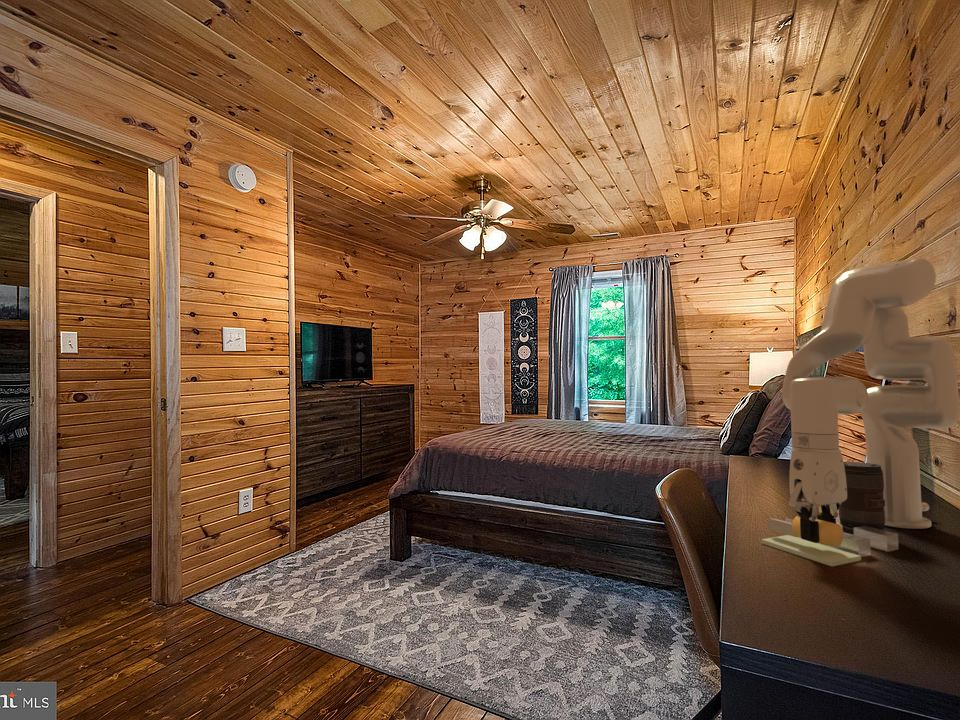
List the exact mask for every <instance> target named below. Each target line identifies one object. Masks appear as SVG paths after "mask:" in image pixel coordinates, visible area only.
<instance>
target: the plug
mask: <svg viewBox="0 0 960 720" xmlns="http://www.w3.org/2000/svg"><path fill="white" fill-rule="evenodd" d="M792 520H793V523H790V522H786V521H785V520H782V519H778V518H768V520H767V530H769V531H772V532H776V533H779V534H784V535H790V536H794V537H798V538H801V532H800V518H798V515H797V516H795V517H794V518H793V519H792ZM815 521H818V522H819V544H822V545H828V546H832V547H839V546H840V545H841V543H842V541H843V537H844V533H843V529H842V525H841V524H839V523H836V524H835V523H831V522H826V521H822V520H818V519H817V518H816V520H815Z"/></svg>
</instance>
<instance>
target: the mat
mask: <svg viewBox="0 0 960 720" xmlns="http://www.w3.org/2000/svg"><path fill="white" fill-rule="evenodd" d="M761 544H762V545H766V546H768V547H771V548H774V549H777V550H780V551H784V552H787V553H789V554H793V555H796V556H798V557H802V558H805V559H808V560H811V561H813V562H817V563H821V564H823V565H826V566H829V567H836V566H842V565H845V564H849V563H850V564H851V563H855V562H860V561H862V557H861V556H860V555H856V554H853V553H849V552H846V551H843V550H839V549H836V548H832V547H829V546H826V545H825V544H821V543H813V542H810V541H807V540H803V539H802V538H800V537H794V536H790V535H786V534H784V535H779V536H774V537H773V536H772V537H767V538H762V539H761Z"/></svg>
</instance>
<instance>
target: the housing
mask: <svg viewBox="0 0 960 720" xmlns="http://www.w3.org/2000/svg"><path fill="white" fill-rule="evenodd" d="M793 520H794V519H792V518H788V517H787V518H786V517H785V518H784V521H786V522H790V523H793ZM843 533H844V537H843V541H842V543H841V545H840V546H839V547H832V546H829V547H832V548H836V549H839V550H843V551H846V552H849V553H853V554H856V555H860V556H861V558H864V557H865V558H866V557H869V556H871V555H872V553H871V549H872V548H873V549H876V550H880V551H884V552H887V553H888V552H893V551H897V550H899V549H900V548H899V547H900V546H899V545H900V544H899V533H897V532H892V531H888V530H885V529H884V530H880V529H876V528H872V527H868V526H860V527H855V528H854V535H852V534H849V533H845V532H843ZM826 546H828V545H826Z"/></svg>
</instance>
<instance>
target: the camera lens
mask: <svg viewBox="0 0 960 720" xmlns="http://www.w3.org/2000/svg"><path fill="white" fill-rule="evenodd" d="M843 462H844V467H845V475H846V484H847V499H846V500H845V501H844V502H842V503H841V504H840V507H839V509H838V517H839V523H840V524H839V525H840V526H841V527H842V529H843V532H845V533H849V534H852V535H854V528H855V527H860V526H868V527H872V528H876V529H880V530H884V531H885V511H884V506H885V500H884V499H883V491H884V478H883V472H882V469H881V465H878V464H872V463H867V462H858V461H857V462H856V461H855V462H854V461H843Z"/></svg>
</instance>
